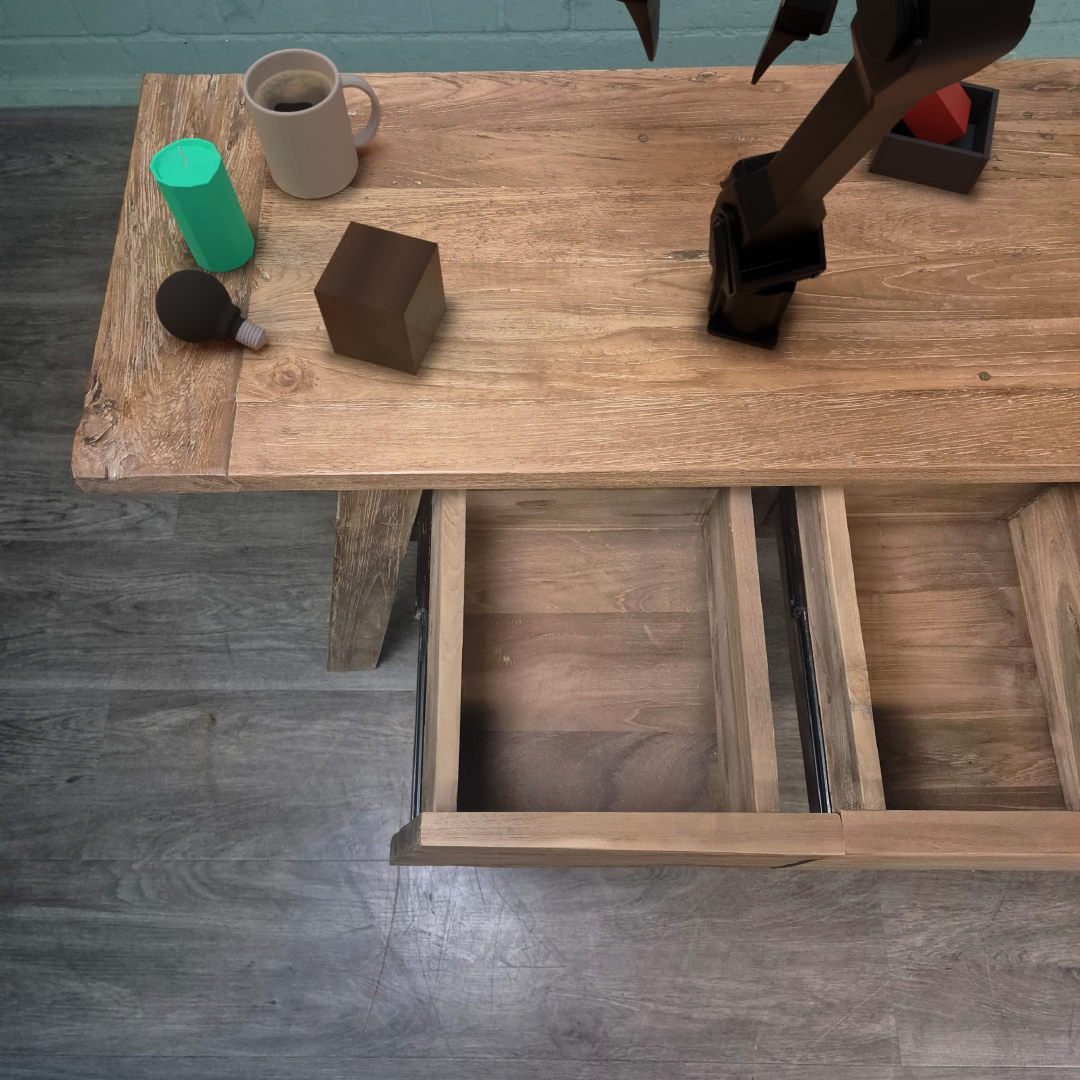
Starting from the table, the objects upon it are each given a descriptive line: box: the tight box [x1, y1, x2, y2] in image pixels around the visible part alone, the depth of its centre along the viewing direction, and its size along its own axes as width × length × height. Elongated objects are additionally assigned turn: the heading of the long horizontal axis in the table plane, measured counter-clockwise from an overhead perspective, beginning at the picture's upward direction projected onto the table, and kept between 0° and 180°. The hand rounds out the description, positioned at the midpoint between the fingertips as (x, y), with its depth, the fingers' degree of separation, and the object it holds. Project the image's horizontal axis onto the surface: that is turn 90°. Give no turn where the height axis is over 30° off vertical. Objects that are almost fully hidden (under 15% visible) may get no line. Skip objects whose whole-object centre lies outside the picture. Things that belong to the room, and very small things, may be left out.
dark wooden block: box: [313, 220, 447, 376], centre depth 78 cm, size 8×8×8 cm
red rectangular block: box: [902, 82, 971, 145], centre depth 88 cm, size 5×4×12 cm
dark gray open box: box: [868, 80, 1001, 196], centre depth 90 cm, size 10×10×4 cm
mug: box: [242, 48, 382, 200], centre depth 86 cm, size 11×10×10 cm
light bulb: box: [154, 268, 267, 351], centre depth 79 cm, size 6×6×10 cm
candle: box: [148, 137, 256, 273], centre depth 80 cm, size 6×6×12 cm
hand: (702, 69), depth 78 cm, fingers open, 9 cm apart
